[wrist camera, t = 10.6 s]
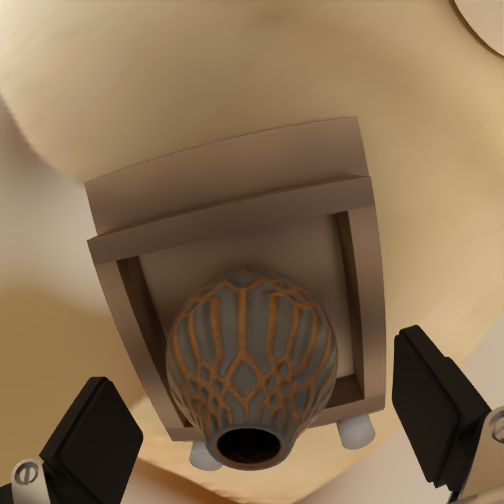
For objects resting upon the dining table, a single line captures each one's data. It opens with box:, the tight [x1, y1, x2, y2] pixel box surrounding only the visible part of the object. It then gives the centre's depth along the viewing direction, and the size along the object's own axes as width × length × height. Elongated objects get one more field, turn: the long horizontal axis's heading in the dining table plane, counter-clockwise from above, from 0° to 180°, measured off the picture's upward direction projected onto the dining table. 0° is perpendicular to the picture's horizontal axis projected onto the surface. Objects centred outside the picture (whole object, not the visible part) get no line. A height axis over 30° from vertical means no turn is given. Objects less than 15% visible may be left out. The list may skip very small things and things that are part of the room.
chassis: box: [85, 116, 386, 471], centre depth 15 cm, size 18×14×4 cm
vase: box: [166, 268, 338, 471], centre depth 12 cm, size 7×7×9 cm
